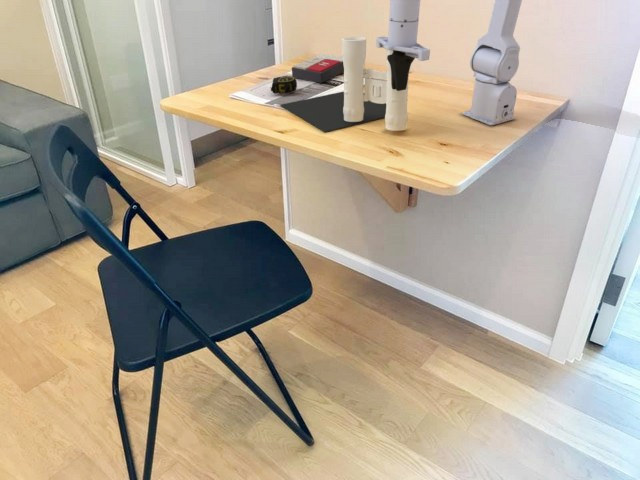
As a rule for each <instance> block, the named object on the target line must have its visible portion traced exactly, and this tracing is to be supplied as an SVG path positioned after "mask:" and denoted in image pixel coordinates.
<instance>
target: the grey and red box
mask: <svg viewBox="0 0 640 480" xmlns="http://www.w3.org/2000/svg"><path fill="white" fill-rule="evenodd" d="M341 74H342V75H344V65H343V58H342V56H339V55H333V54H325V53H319V54H317V55H314V56H311V57H309V58H306V59H304V61H301V62H298V63H296V64H294V65H293V66H292V67H291V76H292V77H294V78H295V79H296V80H298V79H299V80H303V81H308V82H312V83H314V82H315V83H318V84H323V83H325V82H327V81H329V80H331V79H333V78H334V77H337V76H339V75H341Z"/></svg>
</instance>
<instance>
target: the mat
mask: <svg viewBox="0 0 640 480" xmlns="http://www.w3.org/2000/svg"><path fill="white" fill-rule="evenodd" d="M363 94H364V92H363ZM279 106H280V107H282V108H283V109H285V110H287V111H288V112H290V113H291V114H292V115H295V116H297V117H298V118H300V119H301V120H303V121H305V122H306V123H308V124H309V125H311V126H313V127H314V128H316V129H318V130H320V131H321V132H323V133H329V132H334V131H337V130H341V129H346V128H349V127H350V128H351V127H355V126H357V125H362V124H366V123H370V122H374V121H379V120H382V119H385V115H386V103H384V104H379V103H374V102H371V101H369V100H368V101H364V114H363V120H362V121H359V122H348V121H345V120H344V114H343V107H344V91H340V92H335V93H334V92H333V93H329V94H326V95H320V96H315V97H310V98H306V99H301V100H296V101H292V102H286V103H283V104H280V105H279Z"/></svg>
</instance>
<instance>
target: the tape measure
mask: <svg viewBox="0 0 640 480" xmlns="http://www.w3.org/2000/svg"><path fill="white" fill-rule="evenodd" d="M297 88H298V83H297V78H294V77H292V75H282V76H276V77H273V79H272V83H271V86H270V91H271V92H272V93H273V94H291V93H294V92H295V91H296V90H297Z"/></svg>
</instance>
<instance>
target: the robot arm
mask: <svg viewBox="0 0 640 480" xmlns="http://www.w3.org/2000/svg"><path fill="white" fill-rule="evenodd" d="M522 2H523V0H494V4H493V8H492V12H491V16H490V19H489V20H490V21H489V25H488V30H487V33H485V34H484V35H482V36H481V37H479V38H478V40H477V42H476V46H475V48H474V50H473V51H472V52H473V53H471V56H470V60H469V67H470V69H471V71H472V72H473V77H474V85H473V92H472V99H471V105H470V110H465V111H463V112H462V115H463V116H466V117H467V118H471V119H473V120H475V121H478V122H481V123H483V124H485V125H488V126H495V125H498V124H499V125H500V124H502V123H507V122H509V121H513V120H515V116H514V112H515V105H516V101H517V94H518V92H517V88H516V86H515V85H512V84H511V83H510V82H511V80H512V79H513V78H514V76H515V75H516V73H517V72H518V69H519V66H520V59H519V58H520V57H519V56H520V55H519V54H520V52H521V51H520V50H521V46H520V45H519V43H518V41H517V40H516V38H515V37H514V33H515V30H516V26H517V21H518V17H519V15H520V11H521V6H522ZM420 7H421V0H389V16H388V33H387V36H385V35H384V36H383V35H382V36H377V37H376V38H375V39H376V40H375V47H376V48H378V49H381V48H382V49H384V50H386V49H387V50H392V51H393V53H392V54H391V55H388V56H387V60H388V61H389V63H390V66H391V85H392V89H396V90H397V91H401V90H406V87H407V82H408V83H409V79H408V75H410V71H409V70H411V66H412V64H413V62H414V60H415V59H416V60H417V59H418V61H419V62H424V61H429V60H430V55H431V49H429V48H427V47H425V46H423V45H421V44H420V43H418V42H417V41H418V32H419V20H420V9H421V8H420Z"/></svg>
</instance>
